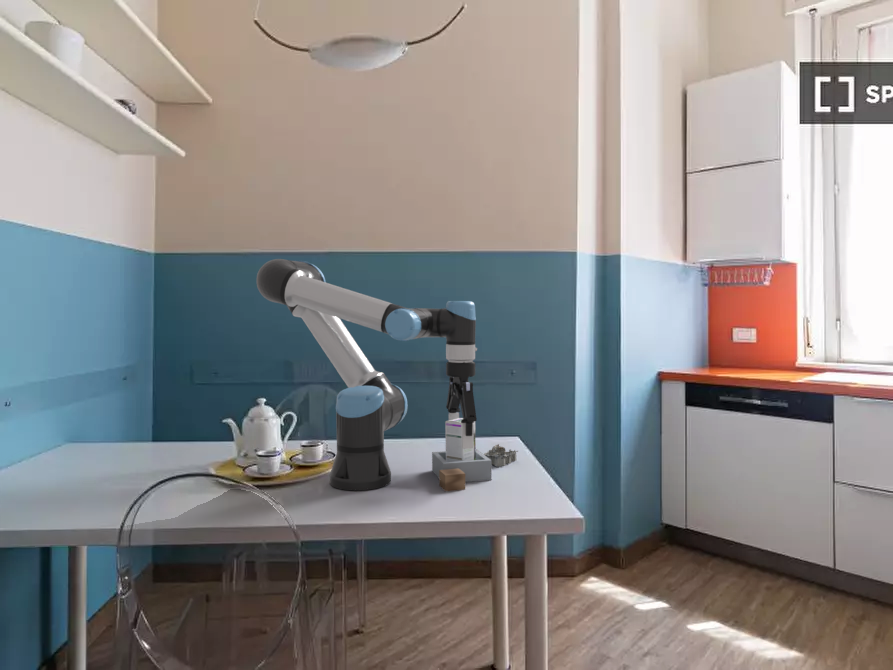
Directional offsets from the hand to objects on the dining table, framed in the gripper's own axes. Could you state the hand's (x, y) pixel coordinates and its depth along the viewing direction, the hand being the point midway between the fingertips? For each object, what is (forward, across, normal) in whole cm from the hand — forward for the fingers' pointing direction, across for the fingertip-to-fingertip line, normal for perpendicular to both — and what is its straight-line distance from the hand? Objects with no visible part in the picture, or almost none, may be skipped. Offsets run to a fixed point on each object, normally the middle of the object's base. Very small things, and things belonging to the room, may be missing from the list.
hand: (460, 442), depth 165 cm
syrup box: (+9, 0, 0) cm, 9 cm away
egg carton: (+9, +11, -15) cm, 20 cm away
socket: (+8, 0, 0) cm, 9 cm away
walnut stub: (+9, -10, +5) cm, 14 cm away
